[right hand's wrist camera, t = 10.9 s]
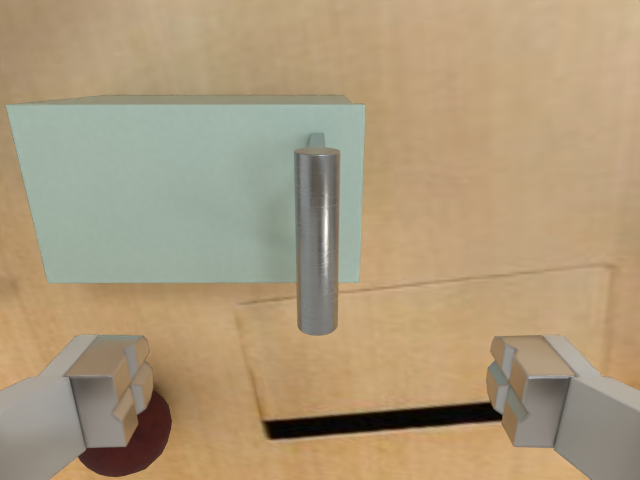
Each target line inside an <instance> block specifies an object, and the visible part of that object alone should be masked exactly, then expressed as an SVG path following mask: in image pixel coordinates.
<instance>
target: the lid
mask: <svg viewBox="0 0 640 480" xmlns="http://www.w3.org/2000/svg"><path fill="white" fill-rule="evenodd" d="M6 109H7V113H8V118H9V122H10V126H11V130H12V134H13V139H14V143H15V147H16V151H17V156H18V160H19V164H20V168H21V172H22V177H23V181H24V185H25V189H26V193H27V198H28V202H29V206H30V210H31V214H32V219H33V223H34V227H35V231H36V236H37V240H38V244H39V248H40V252H41V257H42V261H43V265H44V269H45V273H46V278H47V282H48V283H297V325H298V328H299V329H300V330H301V331H302V332H304V333H306V334H309V335H326V334H329V333H331V332H333V331H334V330H335V329H336V328H337V326H338V283H359V281H360V252H361V222H362V193H363V163H364V134H365V105H364V104H9V105H6Z"/></svg>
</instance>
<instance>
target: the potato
mask: <svg viewBox="0 0 640 480" xmlns="http://www.w3.org/2000/svg"><path fill="white" fill-rule="evenodd" d="M137 419H138V425H137V427H136V429H135V431H134V433H133V435H132V437H131V438H130V440H129V442H128V444H127V446H126V447H101V448H86V450H85V451H84V452H83V453H82V454H80V455H79V456H78V457H79V459H80V461H81V462H82V463H83V464H84V465H85V466H86V467H87V468H89V469H90V470H92V471H94V472H95V473H97V474H100V475H104V476H109V477H120V476H125V475H129V474H133V473H136V472H139V471H141V470H144V469H146V468H147V467H148V466H149V465H150V464H151V463H152V462H154V461H155V460H156V459H157V458H158V457H159V456H160V455H161V454H162V452H163V450H164V448H165V446H166V444H167V442H168V438H169V434H170V430H171V423H172V420H171V415H170V410H169V406H168V404H167V402H166V401H165V400H164V398H163V397H162V396H161V395H159V394H157V393H156V392H154V391H152V395H151V400H150V402H149V404H148V406H147V408H146V409H145V410H144V411H142V412H141V413H139V414H138V415H137Z"/></svg>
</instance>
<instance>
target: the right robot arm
mask: <svg viewBox="0 0 640 480" xmlns="http://www.w3.org/2000/svg"><path fill="white" fill-rule="evenodd" d="M149 352H150V351H149V346H148V341H147V339H146V338H145V337H144V336H133V335H79V336H75V337H74V338H73V339H72V340H71V341H70V343H69V344H68V345H67V346H66V347H65V348H64V349H63V350H62V351H61V352H60V353H59V354H58V355H57V356H56V357H55V358H54V359H53V360H52V362H51V363H50V364H49V365H48V366H47V367H46V368H45V369H44V370H43V371H42V372H41V373H40V374H39V375H38V376H37V377H29V378H26V379H24V380H22V381H20V382H18V383H16V384H14V385H11V386H9V387H7V388H5V389H3V390H1V391H0V480H49V479H51V478H52V477H53V476H54V475H56V474H57V473H58V472H59V471H61V470H62V469H63V468H64V467H66V466H67V465H68V464H69V463H71V462H72V461H73V460H74V459H76V458H77V457H78V456H79V455H80V454H82V453H83V452H84V451H85V450H86V448H101V447H126V446H127V444H128V442H129V440H130V438H131V437H132V435H133V433H134V431H135V429H136V427H137V425H138V419H137V415H138V414H139V413H141V412H142V411H144V410H145V409H146V408H147V406H148V404H149V402H150V400H151V395H152V391H153V370H152V367H151V366H150V365H149V364H148V363H147V362H146V361H145V359H146V357H147V355H148V354H149ZM490 352H491V354H492V355H493V357H494V359H495V361H494V362H493V363H492V364H491V365H490V366H489V367H488V370H487V379H486V382H487V392H488V396H489V399H490V402H491V404H492V406H493V408H494V409H495V410H496V411H498V412H499V413H501V414H502V415H503V419H502V425H503V427H504V429H505V431H506V433H507V435H508V437H509V438H510V440H511V442H512V444H513V446H514V447H538V448H554V450H555V451H556V452H557V453H558V454H560V455H561V456H562V457H563V458H565V459H566V460H567V461H568V462H570V463H571V464H572V465H573V466H575V467H576V468H577V469H578V470H580V471H581V472H582V473H583V474H584V475H586V476H587V477H588V478H589V479H591V480H640V391H639V390H637V389H635V388H633V387H631V386H628V385H626V384H624V383H622V382H620V381H618V380H616V379H614V378H611V377H603V376H602V375H601V374H600V373H599V372H598V371H597V370H596V369H595V368H594V367H593V366H592V365H591V364H590V363H589V361H588V360H587V359H586V358H585V357H584V356H583V355H582V354H581V353H580V352H579V351H578V350H577V349H576V348H575V347H574V346H573V345H572V344H571V342H570V341H569V340H568V339H567V338H566V337H564V336H562V335H560V334H558V335H534V336H495V337H494V339H493V341H492V345H491V351H490Z"/></svg>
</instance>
